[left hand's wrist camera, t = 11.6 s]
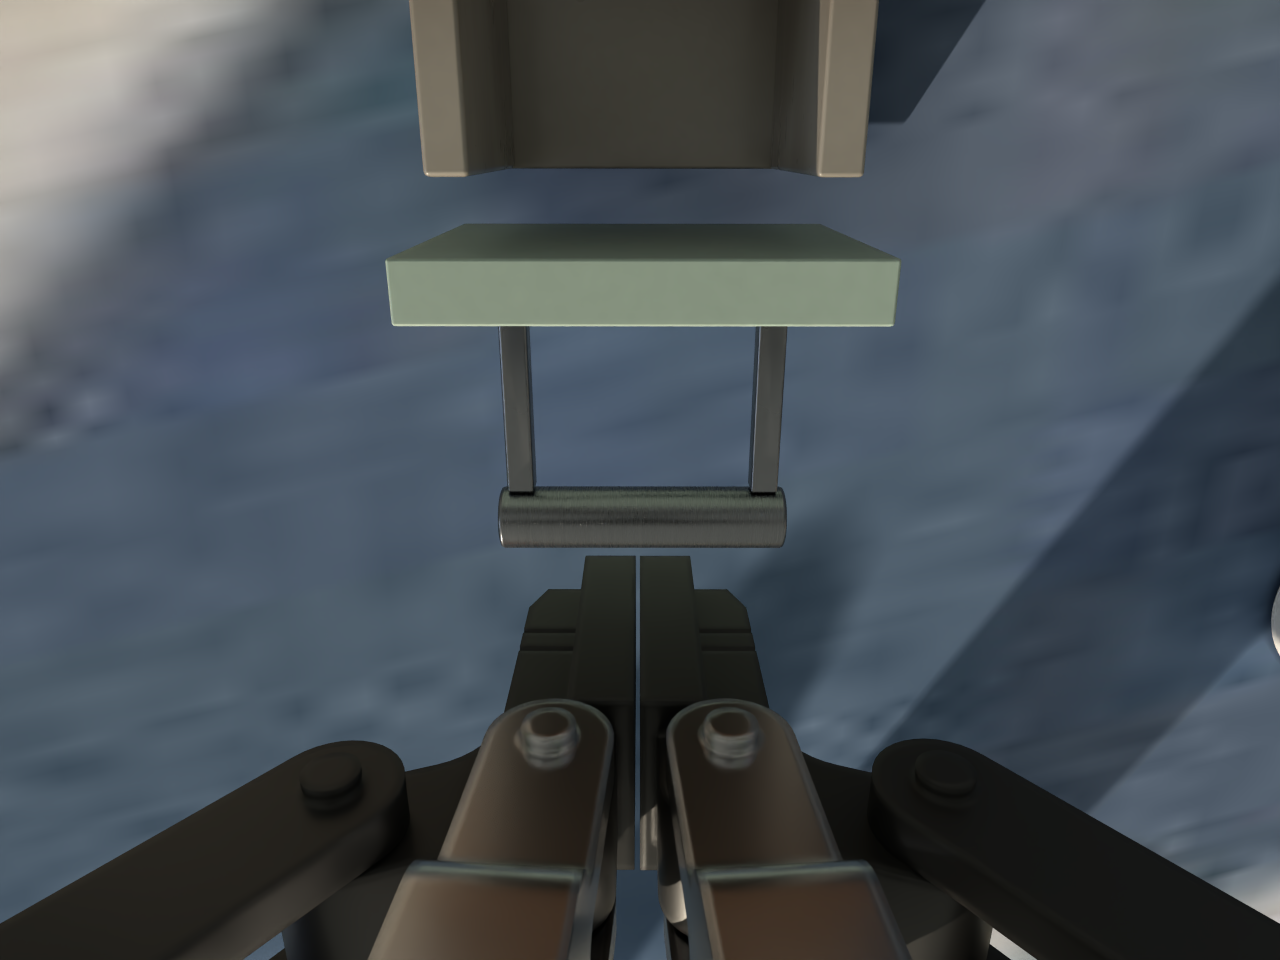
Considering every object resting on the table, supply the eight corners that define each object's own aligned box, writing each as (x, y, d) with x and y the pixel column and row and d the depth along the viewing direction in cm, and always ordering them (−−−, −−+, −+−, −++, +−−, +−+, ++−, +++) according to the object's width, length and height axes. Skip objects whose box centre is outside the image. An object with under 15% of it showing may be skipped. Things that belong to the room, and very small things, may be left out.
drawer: (802, 478, 24) (865, 606, 18) (481, 478, 24) (420, 605, 18) (870, -439, 17) (1017, -811, 11) (416, -439, 17) (273, -812, 11)
